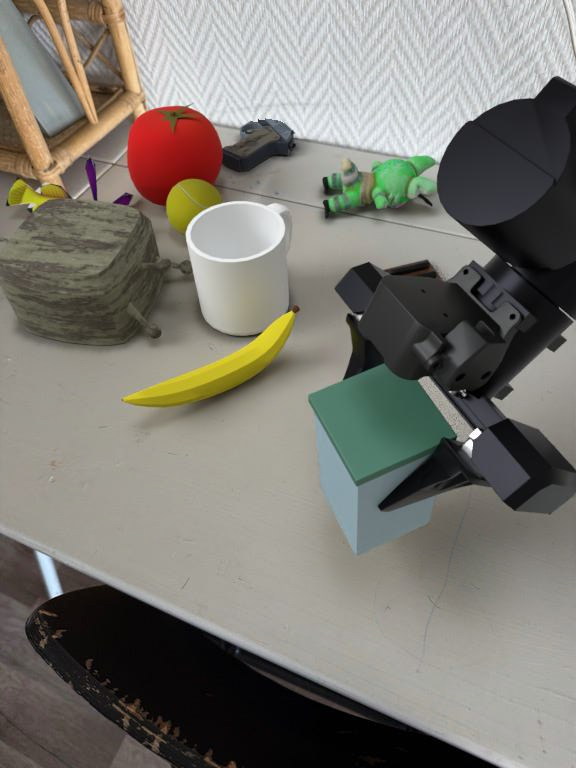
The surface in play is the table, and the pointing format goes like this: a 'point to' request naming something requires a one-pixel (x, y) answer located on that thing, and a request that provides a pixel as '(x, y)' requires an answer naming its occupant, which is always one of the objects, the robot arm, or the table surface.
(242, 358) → the banana
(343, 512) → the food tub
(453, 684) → the table surface
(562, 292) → the robot arm
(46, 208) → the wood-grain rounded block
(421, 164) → the toy
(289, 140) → the handgun
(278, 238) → the mug
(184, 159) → the tomato
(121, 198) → the toy
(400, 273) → the dish rack
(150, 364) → the table surface
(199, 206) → the tennis ball
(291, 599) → the table surface
